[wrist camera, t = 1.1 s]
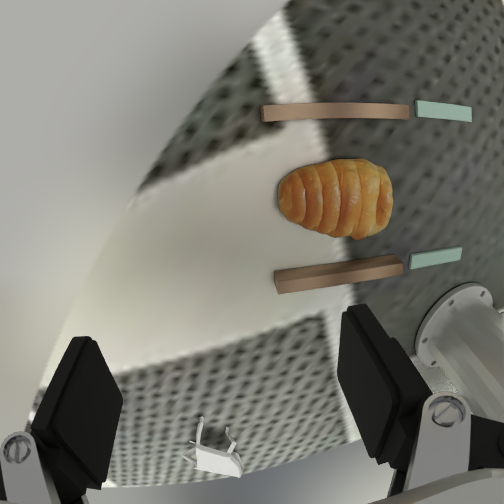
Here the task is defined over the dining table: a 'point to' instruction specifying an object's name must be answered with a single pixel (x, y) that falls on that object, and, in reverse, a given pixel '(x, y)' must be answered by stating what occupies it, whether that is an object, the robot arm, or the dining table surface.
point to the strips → (443, 113)
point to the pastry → (338, 198)
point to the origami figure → (214, 457)
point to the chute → (349, 269)
